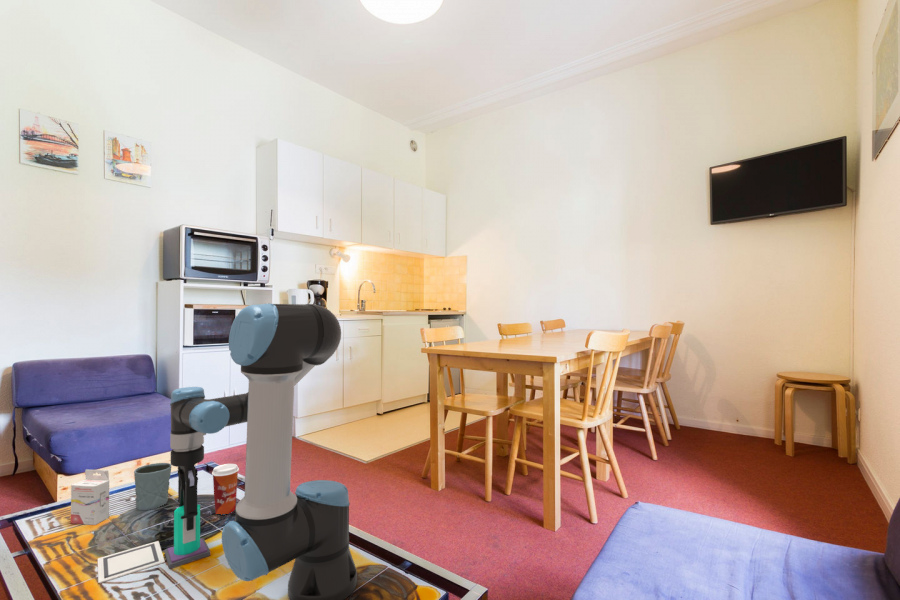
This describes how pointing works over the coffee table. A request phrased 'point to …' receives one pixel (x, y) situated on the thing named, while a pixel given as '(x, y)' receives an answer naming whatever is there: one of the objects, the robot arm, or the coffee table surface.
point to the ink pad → (179, 560)
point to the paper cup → (225, 488)
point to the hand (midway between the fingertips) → (187, 536)
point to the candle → (178, 533)
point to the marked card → (129, 561)
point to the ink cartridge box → (90, 498)
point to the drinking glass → (152, 485)
